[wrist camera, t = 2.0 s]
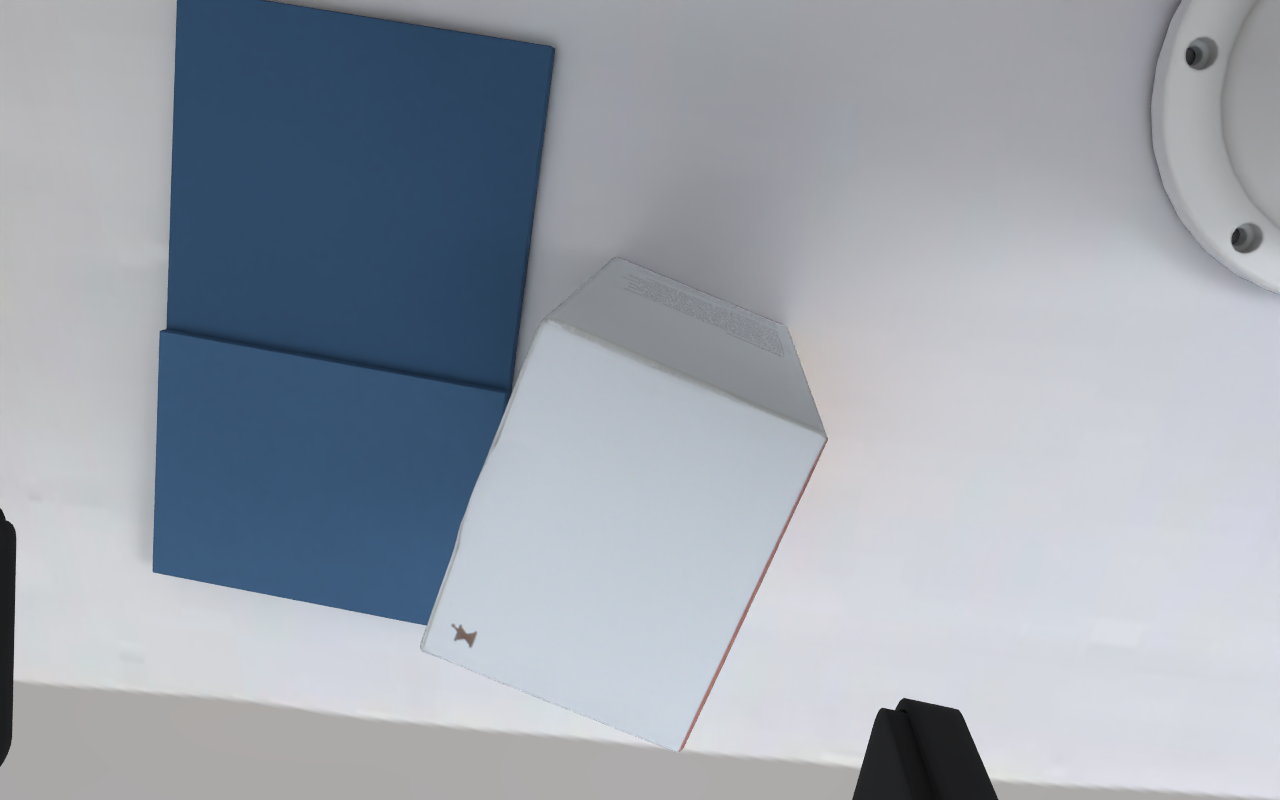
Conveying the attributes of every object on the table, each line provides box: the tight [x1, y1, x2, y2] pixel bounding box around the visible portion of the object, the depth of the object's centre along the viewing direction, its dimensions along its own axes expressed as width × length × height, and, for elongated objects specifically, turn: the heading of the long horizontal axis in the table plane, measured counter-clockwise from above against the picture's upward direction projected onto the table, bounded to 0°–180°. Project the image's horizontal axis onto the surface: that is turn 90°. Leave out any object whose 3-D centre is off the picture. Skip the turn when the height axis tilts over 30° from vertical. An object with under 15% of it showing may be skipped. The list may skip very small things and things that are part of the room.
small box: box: [420, 258, 828, 752], centre depth 26 cm, size 8×6×13 cm
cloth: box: [153, 0, 555, 625], centre depth 32 cm, size 12×20×1 cm, turn 171°
